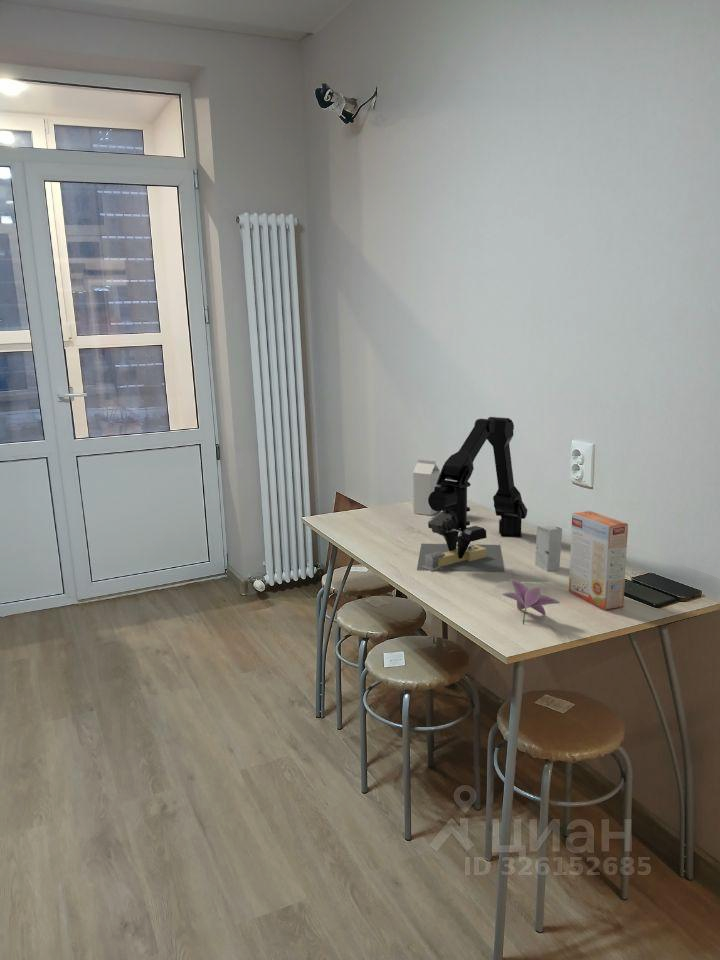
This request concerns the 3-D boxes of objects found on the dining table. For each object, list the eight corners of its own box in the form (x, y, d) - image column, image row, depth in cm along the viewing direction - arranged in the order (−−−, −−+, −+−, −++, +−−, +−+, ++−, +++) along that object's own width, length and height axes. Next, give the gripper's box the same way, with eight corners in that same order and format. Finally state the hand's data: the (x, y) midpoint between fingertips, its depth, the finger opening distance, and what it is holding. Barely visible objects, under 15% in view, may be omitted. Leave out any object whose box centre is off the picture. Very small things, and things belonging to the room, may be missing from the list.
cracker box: (625, 607, 180) (629, 523, 175) (604, 611, 177) (608, 526, 173) (587, 588, 192) (591, 509, 188) (567, 592, 190) (570, 512, 186)
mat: (500, 545, 229) (500, 544, 229) (504, 573, 205) (504, 572, 205) (421, 544, 232) (421, 543, 232) (416, 571, 208) (416, 570, 208)
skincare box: (534, 566, 210) (535, 524, 208) (547, 563, 212) (548, 522, 209) (547, 572, 205) (549, 529, 202) (561, 570, 206) (562, 527, 204)
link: (470, 551, 223) (470, 543, 223) (486, 557, 218) (486, 548, 217) (428, 562, 214) (428, 554, 213) (443, 568, 209) (443, 559, 208)
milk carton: (430, 515, 265) (430, 463, 261) (413, 513, 269) (412, 461, 265) (440, 511, 271) (440, 459, 267) (422, 508, 275) (422, 457, 271)
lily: (563, 629, 170) (566, 587, 173) (527, 620, 164) (531, 577, 167) (524, 629, 180) (527, 589, 183) (489, 620, 174) (492, 579, 177)
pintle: (474, 555, 220) (474, 544, 219) (474, 557, 218) (474, 546, 217) (467, 555, 220) (467, 544, 219) (467, 557, 218) (467, 546, 217)
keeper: (431, 571, 207) (431, 558, 206) (421, 567, 210) (421, 555, 209) (446, 567, 210) (446, 554, 209) (435, 563, 213) (435, 550, 213)
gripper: (413, 502, 215) (414, 554, 219) (457, 515, 200) (457, 571, 204) (443, 496, 221) (442, 547, 225) (488, 508, 206) (487, 562, 210)
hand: (456, 556), depth 216 cm, fingers closed on link, 3 cm apart
